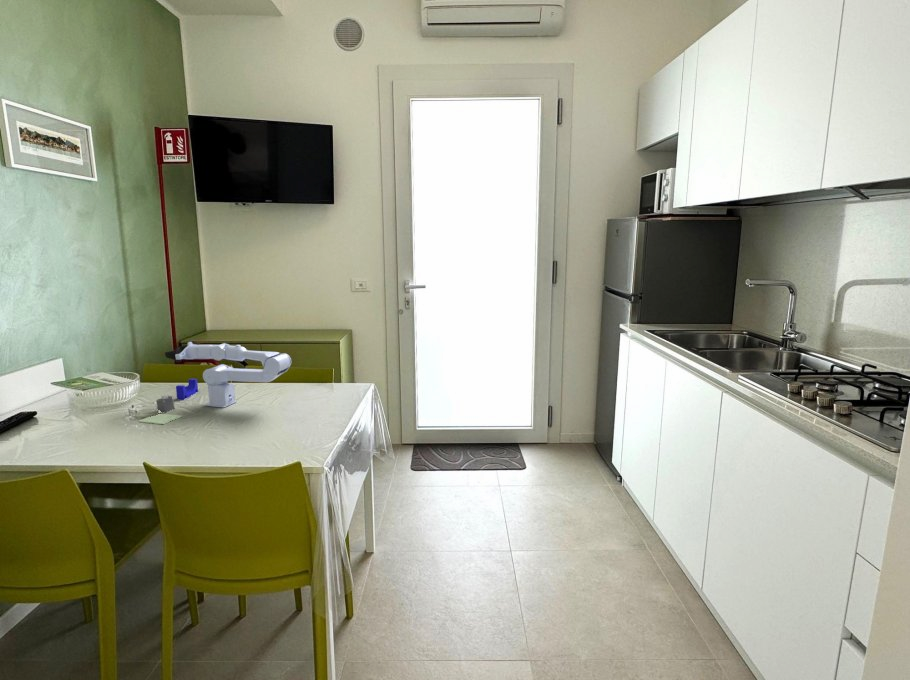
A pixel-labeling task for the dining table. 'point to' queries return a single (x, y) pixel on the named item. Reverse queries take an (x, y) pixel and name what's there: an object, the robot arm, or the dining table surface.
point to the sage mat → (160, 419)
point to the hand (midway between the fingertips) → (172, 352)
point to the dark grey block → (165, 403)
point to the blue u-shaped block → (187, 389)
